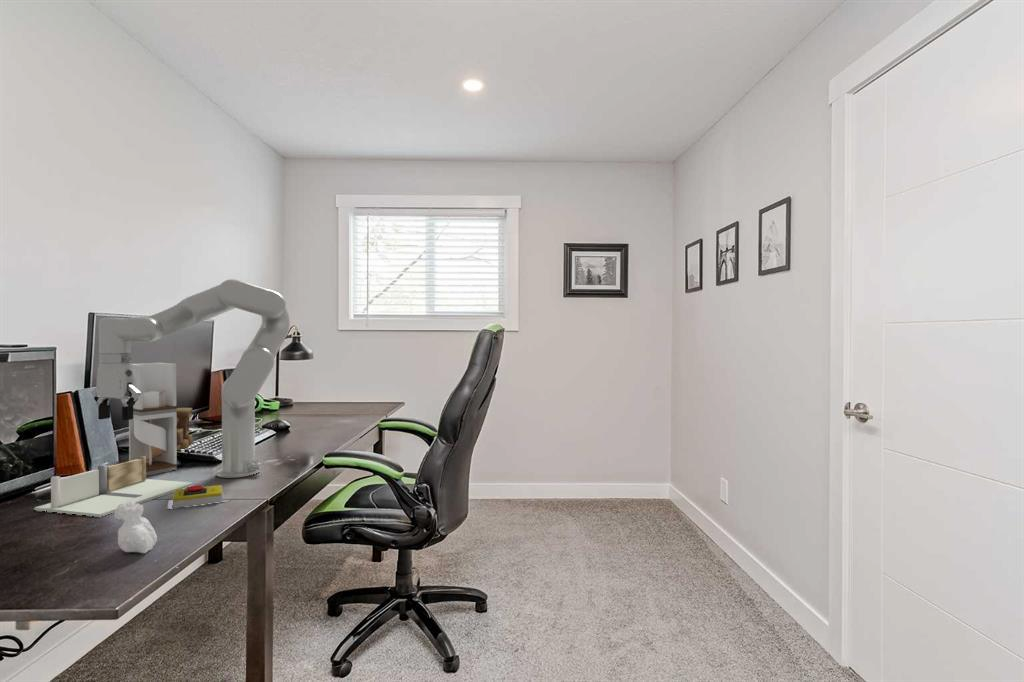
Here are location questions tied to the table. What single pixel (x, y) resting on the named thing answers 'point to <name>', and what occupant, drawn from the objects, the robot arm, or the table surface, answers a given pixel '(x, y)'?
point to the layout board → (118, 498)
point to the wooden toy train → (183, 428)
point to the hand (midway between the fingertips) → (115, 418)
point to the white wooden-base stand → (155, 417)
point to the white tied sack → (134, 529)
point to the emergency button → (197, 496)
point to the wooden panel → (126, 473)
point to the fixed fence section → (78, 486)
